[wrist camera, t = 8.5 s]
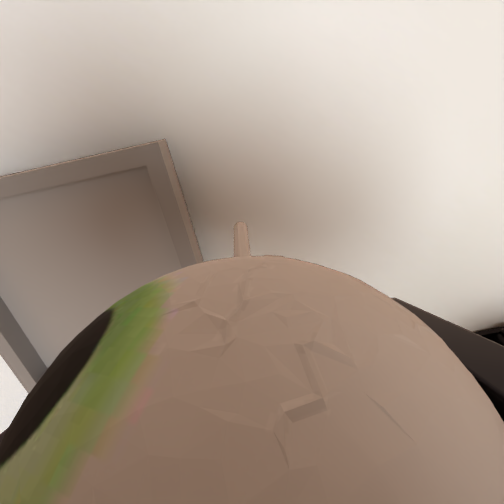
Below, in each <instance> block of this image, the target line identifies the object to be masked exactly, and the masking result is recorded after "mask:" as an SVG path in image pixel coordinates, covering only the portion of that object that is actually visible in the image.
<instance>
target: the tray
mask: <svg viewBox="0 0 504 504" xmlns="http://www.w3.org/2000/svg"><path fill="white" fill-rule="evenodd" d="M202 262H204V261H203V258H202V255H201V252H200V248H199V245H198V242H197V239H196V236H195V232H194V229H193V226H192V223H191V219H190V216H189V213H188V210H187V206H186V203H185V200H184V197H183V193H182V190H181V187H180V184H179V181H178V177H177V174H176V171H175V168H174V164H173V161H172V158H171V155H170V151H169V148H168V145H167V142H166V139H162V140H158V141H153V142H149V143H145V144H140V145H136V146H132V147H127V148H123V149H118V150H114V151H110V152H105V153H101V154H97V155H92V156H88V157H84V158H79V159H75V160H71V161H66V162H62V163H58V164H53V165H49V166H45V167H40V168H36V169H31V170H27V171H23V172H18V173H14V174H10V175H5V176H1V177H0V355H1V356H2V357H3V359H4V360H5V362H6V363H7V364H8V366H9V367H10V369H11V370H12V371H13V373H14V374H15V375H16V377H17V378H18V380H19V381H20V382H21V384H22V385H23V387H24V388H25V389H26V391H27V392H28V393H30V392H31V390H32V389H33V388H34V386H35V385H36V384H37V382H38V381H39V380H40V378H41V377H42V376H43V374H44V373H45V372H46V370H47V369H48V368H49V367H50V365H51V364H52V363H53V361H54V360H55V359H56V357H57V356H58V355H59V353H60V352H61V351H62V350H63V349H64V348H65V347H66V346H67V345H68V344H69V343H70V342H71V341H72V340H73V339H74V338H75V337H76V336H77V335H78V334H79V333H80V332H81V331H82V330H83V329H84V328H86V327H87V326H88V325H89V324H90V323H91V322H92V321H94V320H95V319H96V318H97V317H98V316H99V315H101V314H102V313H103V312H104V311H106V310H107V309H108V308H109V307H111V306H112V305H113V304H114V303H116V302H117V301H119V300H120V299H122V298H124V297H125V296H127V295H128V294H130V293H132V292H133V291H135V290H136V289H138V288H140V287H141V286H143V285H145V284H147V283H149V282H151V281H153V280H155V279H157V278H159V277H161V276H163V275H166V274H168V273H171V272H174V271H177V270H179V269H182V268H185V267H187V266H191V265H194V264H198V263H202Z"/></svg>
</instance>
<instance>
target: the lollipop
mask: <svg viewBox="0 0 504 504" xmlns="http://www.w3.org/2000/svg"><path fill="white" fill-rule="evenodd" d="M0 504H504V422H503V420H502V419H501V417H500V415H499V413H498V412H497V410H496V409H495V407H494V405H493V404H492V402H491V400H490V399H489V398H488V396H487V395H486V393H485V392H484V391H483V389H482V388H481V386H480V385H479V384H478V382H477V381H476V379H475V378H474V377H473V375H472V374H471V373H470V372H469V371H468V370H467V368H466V367H465V366H464V365H463V364H462V362H461V361H460V360H459V359H458V358H457V356H456V355H455V354H454V353H453V352H452V351H451V350H450V349H449V348H448V346H447V345H446V344H445V342H444V341H443V340H442V339H441V338H440V337H439V336H438V335H437V334H436V333H435V332H434V331H433V330H432V329H431V328H430V327H428V326H427V325H426V324H425V323H424V322H423V321H422V320H420V319H419V318H418V317H417V316H416V315H415V314H413V313H412V312H411V311H409V310H408V309H406V308H405V307H403V306H402V305H401V304H399V303H398V302H396V301H394V300H393V299H391V298H390V297H388V296H386V295H385V294H383V293H381V292H380V291H378V290H376V289H375V288H373V287H371V286H369V285H368V284H366V283H364V282H362V281H361V280H359V279H357V278H354V277H352V276H350V275H347V274H344V273H342V272H339V271H336V270H333V269H330V268H327V267H324V266H320V265H317V264H313V263H309V262H304V261H301V260H297V259H290V258H285V257H283V256H272V255H264V256H251V255H250V247H249V239H248V230H247V225H246V224H245V223H244V222H237V223H236V225H235V226H234V257H231V258H223V259H216V260H210V261H206V262H202V263H198V264H194V265H191V266H187V267H185V268H182V269H179V270H177V271H174V272H171V273H168V274H166V275H163V276H161V277H159V278H157V279H155V280H153V281H151V282H149V283H147V284H145V285H143V286H141V287H140V288H138V289H136V290H135V291H133V292H132V293H130V294H128V295H127V296H125V297H124V298H122V299H120V300H119V301H117V302H116V303H114V304H113V305H112V306H111V307H109V308H108V309H107V310H106V311H104V312H103V313H102V314H101V315H99V316H98V317H97V318H96V319H95V320H94V321H92V322H91V323H90V324H89V325H88V326H87V327H86V328H84V329H83V330H82V331H81V332H80V333H79V334H78V335H77V336H76V337H75V338H74V339H73V340H72V341H71V342H70V343H69V344H68V345H67V346H66V347H65V348H64V349H63V350H62V351H61V352H60V353H59V355H58V356H57V357H56V359H55V360H54V361H53V363H52V364H51V365H50V367H49V368H48V369H47V370H46V372H45V373H44V374H43V376H42V377H41V378H40V380H39V381H38V382H37V384H36V385H35V386H34V388H33V389H32V390H31V392H30V393H29V394H28V395H27V397H26V399H25V400H24V402H23V404H22V406H21V407H20V409H19V411H18V412H17V414H16V416H15V418H14V419H13V421H12V423H11V424H10V426H9V428H8V430H7V431H6V433H5V435H4V437H3V439H2V441H1V443H0Z"/></svg>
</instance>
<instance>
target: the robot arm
mask: <svg viewBox="0 0 504 504" xmlns="http://www.w3.org/2000/svg"><path fill="white" fill-rule="evenodd" d="M391 299H393V300H394V301H396V302H398V303H399V304H401V305H402V306H403V307H405V308H406V309H408V310H409V311H411V312H412V313H413V314H415V315H416V316H417V317H418V318H419V319H420V320H422V321H423V322H424V323H425V324H426V325H427V326H428V327H430V328H431V329H432V330H433V331H434V332H435V333H436V334H437V335H438V336H439V337H440V338H441V339H442V340H443V341H444V342H445V344H446V345H447V346H448V348H449V349H450V350H451V351H452V352H453V353H454V354H455V355H456V356H457V358H458V359H459V360H460V361H461V362H462V364H463V365H464V366H465V367H466V368H467V370H468V371H469V372H470V373H471V374H472V375H473V377H474V378H475V379H476V381H477V382H478V384H479V385H480V386H481V388H482V389H483V391H484V392H485V393H486V395H487V396H488V398H489V399H490V400H491V402H492V404H493V405H494V407H495V409H496V410H497V412H498V413H499V415H500V417H501V419H502V420H503V422H504V327H501V328H496V329H490V330H485V331H480V332H476V333H473V332H471V331H469V330H466V329H464V328H462V327H460V326H458V325H455V324H453V323H451V322H449V321H446V320H444V319H442V318H440V317H437V316H435V315H433V314H431V313H428V312H426V311H424V310H422V309H419V308H417V307H415V306H413V305H410V304H408V303H406V302H404V301H402V300H399V299H397V298H391ZM8 428H9V427H8ZM8 428H7V429H6V430H5V431H4V432H2V433H1V434H0V443H1V441H2V439H3V437H4V435H5V433H6V431H7V430H8Z"/></svg>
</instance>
